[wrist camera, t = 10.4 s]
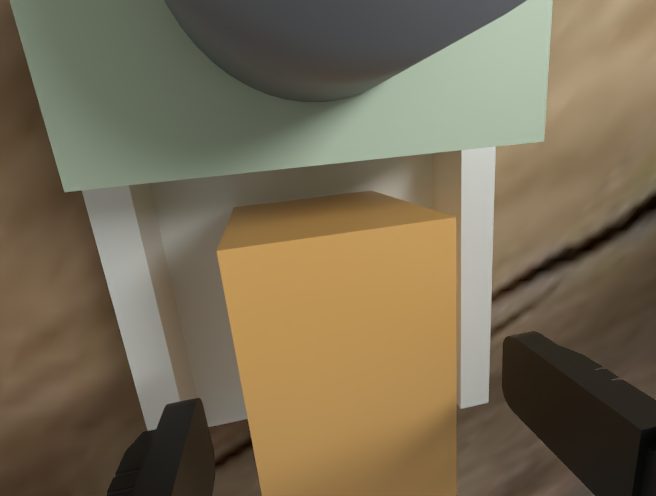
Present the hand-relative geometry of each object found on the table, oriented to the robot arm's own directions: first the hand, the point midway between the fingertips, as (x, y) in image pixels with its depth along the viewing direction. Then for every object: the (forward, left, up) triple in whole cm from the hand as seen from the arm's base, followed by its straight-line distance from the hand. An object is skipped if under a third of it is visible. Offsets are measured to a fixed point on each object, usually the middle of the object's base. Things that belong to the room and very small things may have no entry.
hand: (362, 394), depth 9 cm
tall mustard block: (0, -1, -5) cm, 5 cm away
